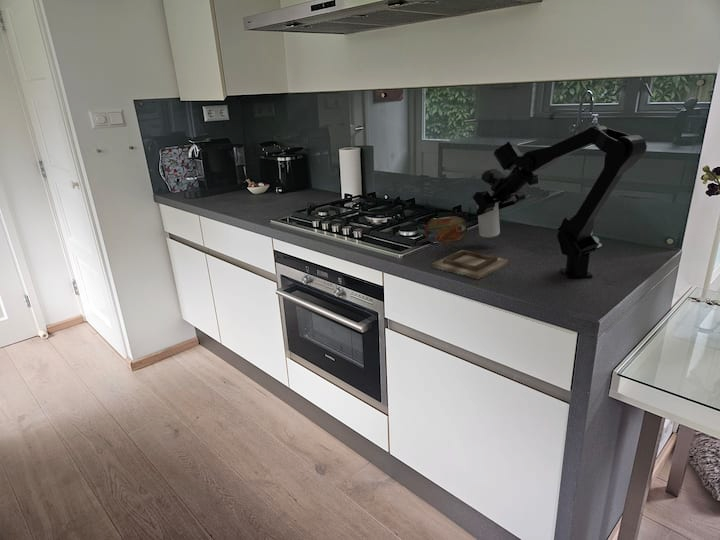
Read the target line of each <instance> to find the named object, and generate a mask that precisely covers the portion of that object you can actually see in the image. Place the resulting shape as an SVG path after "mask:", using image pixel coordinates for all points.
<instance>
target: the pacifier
mask: <svg viewBox="0 0 720 540" xmlns="http://www.w3.org/2000/svg"><path fill="white" fill-rule="evenodd" d="M591 236H592V237H593V238H594V240H595V241H596V243H597V244H598V247H597V248H596V249H598V248H600V247H603V246H602V243H601V242H600V239H599V237H597V236H595V235H593V231H592V233H591Z"/></svg>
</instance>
